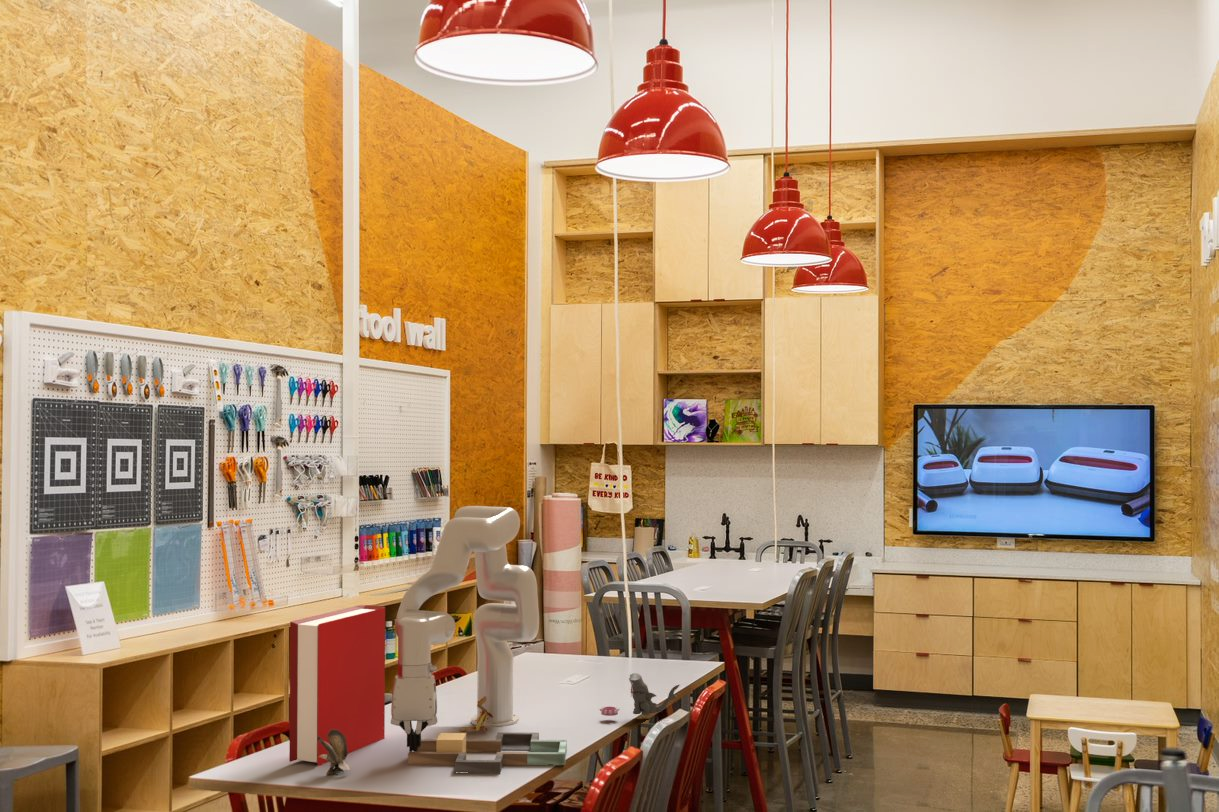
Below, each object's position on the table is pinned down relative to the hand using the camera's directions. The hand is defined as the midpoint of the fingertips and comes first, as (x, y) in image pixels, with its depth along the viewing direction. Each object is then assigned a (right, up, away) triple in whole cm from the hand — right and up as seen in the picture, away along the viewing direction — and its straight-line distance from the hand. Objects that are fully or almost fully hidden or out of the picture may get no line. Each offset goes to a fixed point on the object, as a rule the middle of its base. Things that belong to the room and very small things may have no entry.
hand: (413, 749), depth 277 cm
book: (-18, -2, +7) cm, 20 cm away
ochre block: (+9, -2, 0) cm, 9 cm away
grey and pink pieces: (+53, -3, +42) cm, 67 cm away
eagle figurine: (-15, -2, -13) cm, 20 cm away
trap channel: (+17, -2, 0) cm, 18 cm away
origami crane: (+13, -3, +19) cm, 23 cm away
